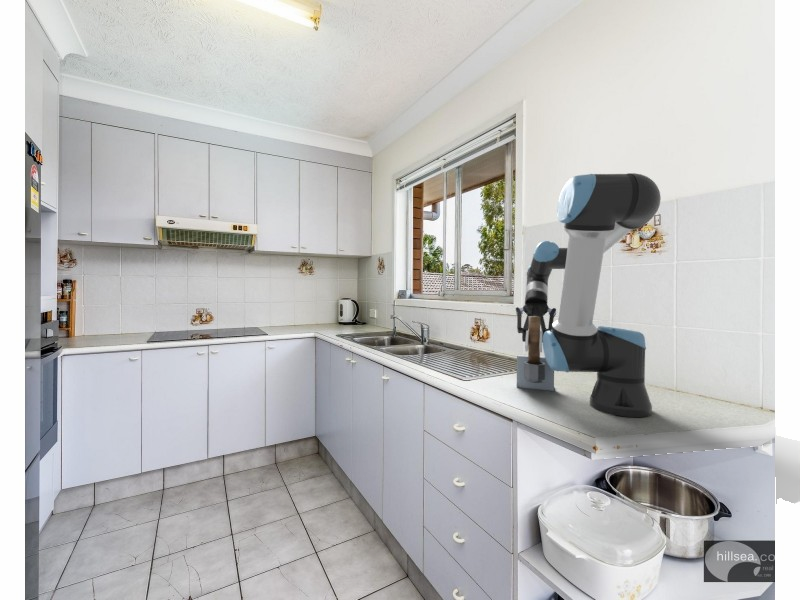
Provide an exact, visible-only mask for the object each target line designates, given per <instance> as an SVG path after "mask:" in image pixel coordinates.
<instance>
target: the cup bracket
mask: <svg viewBox="0 0 800 600" xmlns="http://www.w3.org/2000/svg"><path fill="white" fill-rule="evenodd" d="M524 380H525V381H528V382H533V383H542V382H545V363H544V362H540V364H538V365H537V364H529V363H528V361H524Z"/></svg>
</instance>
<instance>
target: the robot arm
mask: <svg viewBox="0 0 800 600" xmlns="http://www.w3.org/2000/svg"><path fill="white" fill-rule="evenodd" d="M660 206H661V192H660V189H659V186H658V184H656V182H655V181H654V180H653V179H651V178H650V177H649V176H646V175H644V174H641V173H635V172H634V173H633V172H631V173H588V174H580V175H575V176H572V177H571V178H570V179H569V180H567V182H566V183H565V184H564V186H563V188H562V189H561V192H560V195H559V198H558V202H557V209H556V212H557V220H558V221H559V222H560V223H562V224H563V230H564V231H565V232H566V234H568V242H567V247H559V245H558V244H557V243H556V242H553V241H549V240H544V241H541V242H539V243H538V244H537V245H536V248H535V250H534V252H533V254H532V255H533V256H532V259H531V264H530V265H528V268H527V272H526V286H525V295H524V297H525V298H524V305H523V306H522V307H518V306H517V307H515V314H516V317H517V325H516V331H517V333H518V334H522V335H521V336H522V337H521V340H522V342H523V343H525V345H524V349H525V350H524V351H525V352H528V343H529V316H539V317H540V343H539V352H540V353H544V357H545V358H546V361H547V363H548V365H549V367H550V368H551V369H553V370H554V372H565V373H596V382H595V383H594V386H593V389H592V392H591V394H590V397H589V406H590V407H591V408H593V409H594V410H597V411H599V412H602V413H605V414H610V415H614V416H619V417H627V418H646V417H649V416H651V415H652V414H653V404H652V402H651V399H650V397H649V393H648V391H647V388H646V385H645V384H646V383H645V381H646V380H645V379H646V378H645V377H646V350H647V347H646V339H645V338H646V337H645V335H644V334H643V333H642V332H640V331H636V330H632V329H625V328H619V327H610V326H604V325H603V326H601V325H600V326H599V325H598V326H597V327H596V326H595V324H593V320H594V315H595V309H596V304H597V296H598V289H599V283H600V276H601V271H602V264H603V259H604V258H603V257H604V253H606V252H607V251H608V250H610V249H611V248H612V247H613V246H614V245H615V244H617V243H618V242H619V241H621V239H623V238H624V237H625V236H627V235H628V234H629V233H630V232H631V231H633V230H634V231H635V230H639V229H640V228H642V227H644V226H645V225H647V224H648V222H650V221H651V220H652V219H653V218H654V217H655V216H656V213H657V212H658V210H659V208H660ZM552 270H564V273H563V282H562V289H561V297H560V305H559V314H558V318H557V319H556V320H555V321H554V319H555V317H556V315H557V308H555V307H552V308H550V307H549V305H548V297H549V296H548V294H549V293H548V292H549V290H548V289H549V287H548V286H549V285H548V284H549V279H550V275H551V273H552ZM523 313H524V314H525V315H526V318H525V322H524V325H523V326H522V315H523ZM547 313H548V315H549V316H548V317H549V319H548V328H547V327H546V322H545V318H544V316H545V315H546V314H547Z"/></svg>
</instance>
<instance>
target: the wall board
mask: <svg viewBox="0 0 800 600" xmlns="http://www.w3.org/2000/svg"><path fill="white" fill-rule="evenodd" d="M524 361H528V355H516V388H520V389H530V390H532V389H533V390H539V391H540V390H542V391H552V392H554V391H555V371H554V370H553V369H551V368H550V367H549V365H548V363H547V361H546V358H545V356H540V362H544V363H545V382H542V383H533V382H528V381H525V380H524Z"/></svg>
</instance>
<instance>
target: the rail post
mask: <svg viewBox="0 0 800 600" xmlns="http://www.w3.org/2000/svg"><path fill="white" fill-rule="evenodd" d="M528 331H529V343H528V351H527V352H528V353H527V354H528V355H527V356H528V363H529V364H537V365H538V364H540V357H541V352H539V343H540V331H541V325H540V317H539V316H529V329H528Z"/></svg>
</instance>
